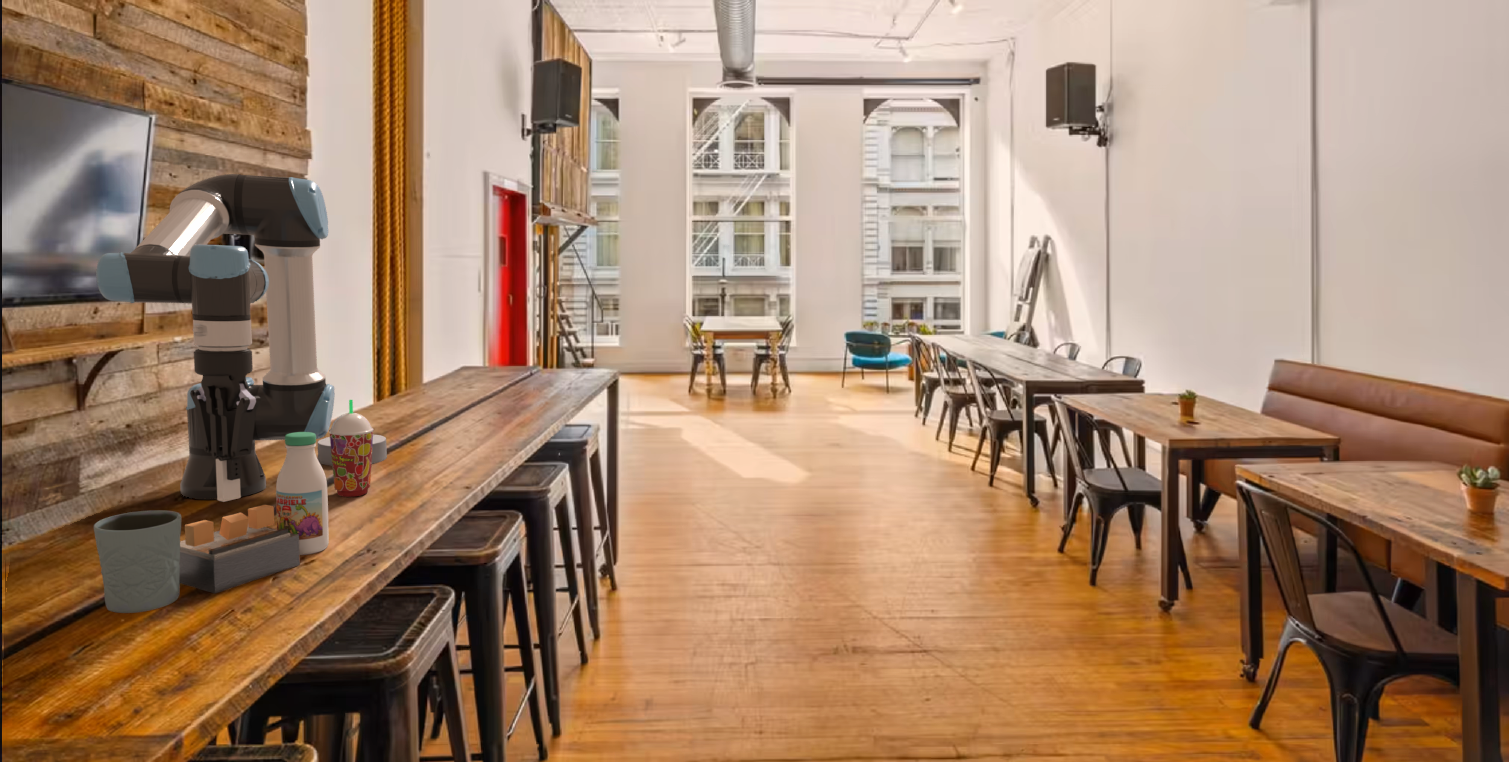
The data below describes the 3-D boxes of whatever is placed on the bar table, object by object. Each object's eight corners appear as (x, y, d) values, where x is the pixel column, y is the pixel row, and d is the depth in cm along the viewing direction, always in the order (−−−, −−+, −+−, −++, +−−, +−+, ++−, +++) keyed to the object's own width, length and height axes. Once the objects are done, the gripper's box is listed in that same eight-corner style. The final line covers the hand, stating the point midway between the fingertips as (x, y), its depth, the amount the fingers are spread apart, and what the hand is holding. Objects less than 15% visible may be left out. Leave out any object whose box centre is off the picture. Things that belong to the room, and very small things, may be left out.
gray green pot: (130, 620, 115) (125, 534, 114) (80, 607, 119) (75, 523, 117) (201, 594, 125) (198, 515, 123) (153, 583, 128) (149, 505, 126)
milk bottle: (290, 541, 149) (286, 428, 146) (336, 542, 149) (333, 430, 147) (269, 556, 141) (265, 437, 138) (317, 557, 142) (314, 439, 139)
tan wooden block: (248, 527, 137) (247, 508, 136) (265, 522, 139) (265, 504, 139) (257, 529, 136) (256, 510, 135) (274, 524, 139) (273, 506, 138)
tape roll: (303, 462, 204) (302, 442, 204) (350, 450, 219) (350, 431, 218) (355, 469, 200) (355, 448, 199) (400, 456, 214) (400, 437, 214)
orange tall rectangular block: (185, 544, 127) (184, 525, 127) (205, 538, 130) (204, 520, 130) (194, 546, 127) (193, 527, 126) (214, 541, 129) (213, 522, 129)
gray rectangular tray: (162, 578, 130) (160, 540, 129) (249, 552, 143) (247, 517, 142) (215, 593, 125) (213, 554, 124) (299, 564, 138) (298, 529, 137)
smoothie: (321, 495, 177) (319, 400, 174) (353, 486, 185) (352, 395, 182) (351, 501, 174) (349, 404, 171) (383, 491, 182) (381, 399, 179)
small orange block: (219, 534, 132) (222, 517, 131) (237, 528, 135) (241, 512, 134) (227, 539, 131) (231, 523, 130) (246, 534, 134) (249, 518, 133)
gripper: (170, 346, 128) (177, 498, 131) (227, 353, 123) (234, 511, 126) (218, 342, 135) (224, 487, 138) (275, 349, 130) (280, 499, 133)
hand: (229, 498), depth 132 cm, fingers closed
